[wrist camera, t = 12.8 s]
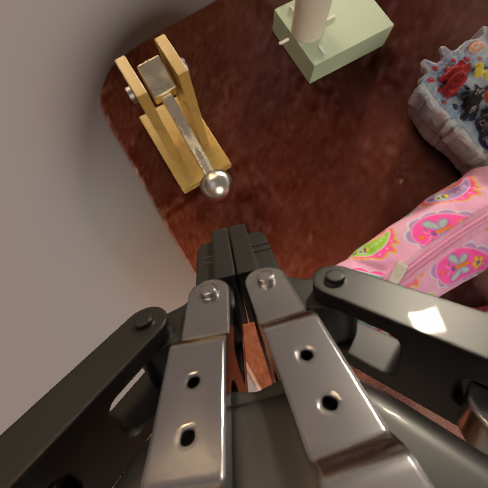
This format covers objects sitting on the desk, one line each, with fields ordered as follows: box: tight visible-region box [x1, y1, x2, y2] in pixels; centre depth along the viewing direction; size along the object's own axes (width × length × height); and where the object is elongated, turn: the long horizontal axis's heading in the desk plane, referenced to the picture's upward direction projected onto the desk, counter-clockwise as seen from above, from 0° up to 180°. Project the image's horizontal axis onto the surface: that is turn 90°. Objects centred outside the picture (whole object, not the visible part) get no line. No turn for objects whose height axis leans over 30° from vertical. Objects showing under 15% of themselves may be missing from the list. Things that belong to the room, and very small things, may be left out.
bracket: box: [115, 34, 231, 194], centre depth 30 cm, size 12×7×13 cm, turn 31°
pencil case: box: [335, 166, 488, 335], centre depth 28 cm, size 21×9×9 cm, turn 123°
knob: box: [291, 0, 332, 44], centre depth 32 cm, size 4×4×6 cm
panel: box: [273, 0, 394, 84], centre depth 36 cm, size 14×10×3 cm
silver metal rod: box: [137, 55, 234, 204], centre depth 27 cm, size 14×4×4 cm, turn 31°
